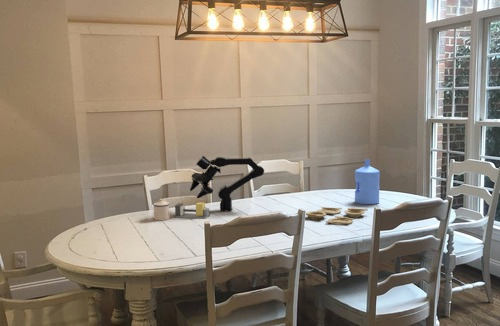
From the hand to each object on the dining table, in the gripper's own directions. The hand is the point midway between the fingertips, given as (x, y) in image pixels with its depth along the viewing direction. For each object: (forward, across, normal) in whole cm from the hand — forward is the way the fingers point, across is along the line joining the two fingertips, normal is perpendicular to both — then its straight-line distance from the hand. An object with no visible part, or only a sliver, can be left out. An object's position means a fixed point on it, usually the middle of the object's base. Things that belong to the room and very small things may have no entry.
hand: (193, 194), depth 285 cm
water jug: (-62, +48, +81) cm, 113 cm away
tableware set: (-42, +63, +40) cm, 86 cm away
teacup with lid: (+21, +7, -14) cm, 26 cm away
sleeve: (+5, +17, 0) cm, 17 cm away
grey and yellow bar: (+9, +14, -2) cm, 17 cm away
